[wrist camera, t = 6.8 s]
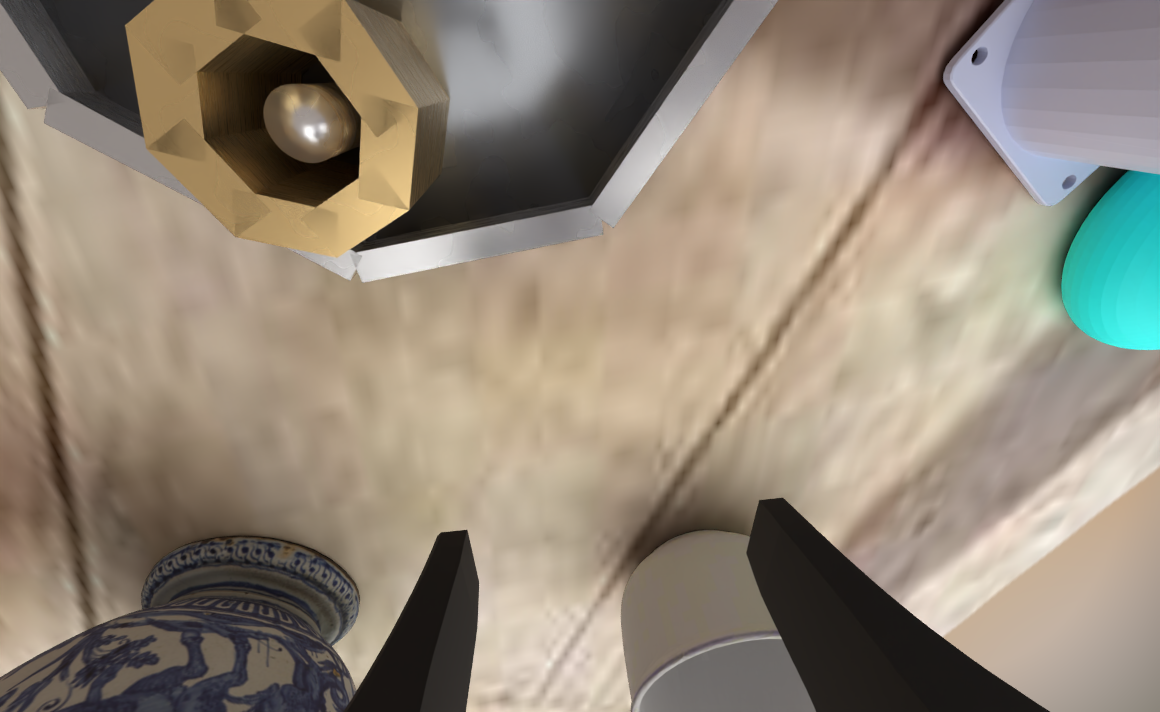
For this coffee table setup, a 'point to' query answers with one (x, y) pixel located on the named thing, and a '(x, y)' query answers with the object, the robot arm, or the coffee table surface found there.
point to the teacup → (704, 632)
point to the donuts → (1118, 266)
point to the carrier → (475, 120)
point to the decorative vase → (208, 639)
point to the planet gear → (236, 120)
